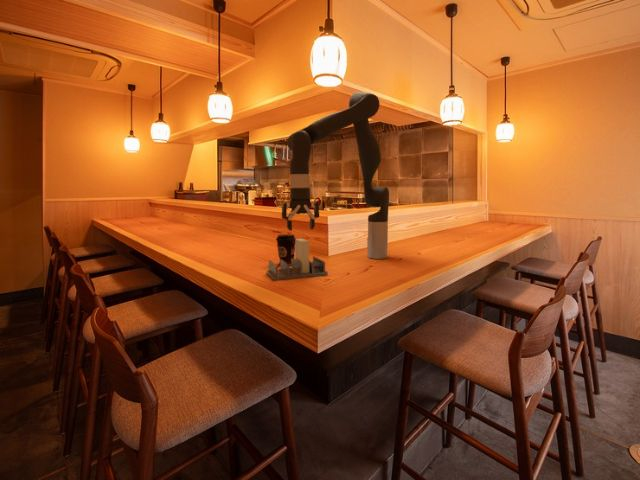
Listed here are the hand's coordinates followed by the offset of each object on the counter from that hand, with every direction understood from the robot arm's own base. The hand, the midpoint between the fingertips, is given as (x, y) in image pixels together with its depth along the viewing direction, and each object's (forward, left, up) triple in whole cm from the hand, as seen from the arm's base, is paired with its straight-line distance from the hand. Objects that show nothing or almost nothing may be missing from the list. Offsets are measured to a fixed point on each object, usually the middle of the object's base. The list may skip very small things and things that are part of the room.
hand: (301, 229), depth 129 cm
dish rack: (0, -2, -17) cm, 17 cm away
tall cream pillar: (0, 0, -16) cm, 16 cm away
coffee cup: (-19, -1, -17) cm, 26 cm away
